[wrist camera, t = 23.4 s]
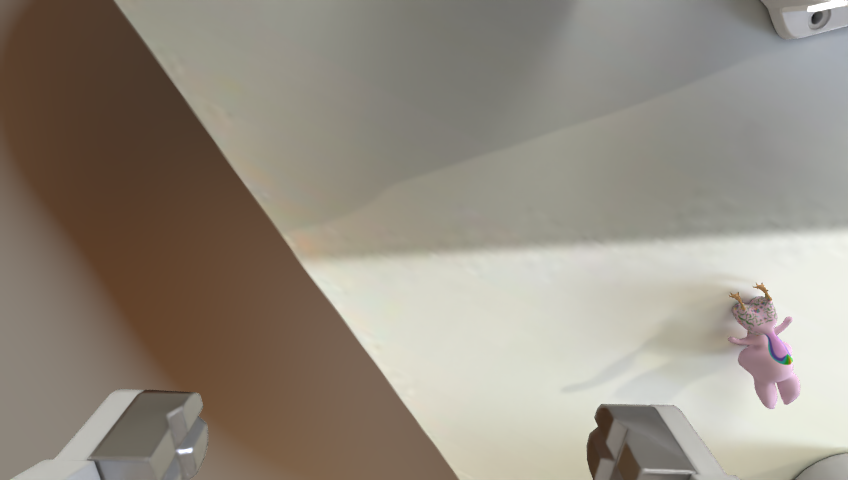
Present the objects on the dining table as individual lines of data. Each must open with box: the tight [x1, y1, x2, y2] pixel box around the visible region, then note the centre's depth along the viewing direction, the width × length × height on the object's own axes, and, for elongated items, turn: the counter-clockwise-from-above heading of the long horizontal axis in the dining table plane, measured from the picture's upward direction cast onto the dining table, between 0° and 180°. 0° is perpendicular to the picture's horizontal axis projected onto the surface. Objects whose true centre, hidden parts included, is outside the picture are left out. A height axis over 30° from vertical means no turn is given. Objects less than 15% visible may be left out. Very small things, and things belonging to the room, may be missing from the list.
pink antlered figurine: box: [728, 283, 800, 409], centre depth 45 cm, size 6×6×15 cm
